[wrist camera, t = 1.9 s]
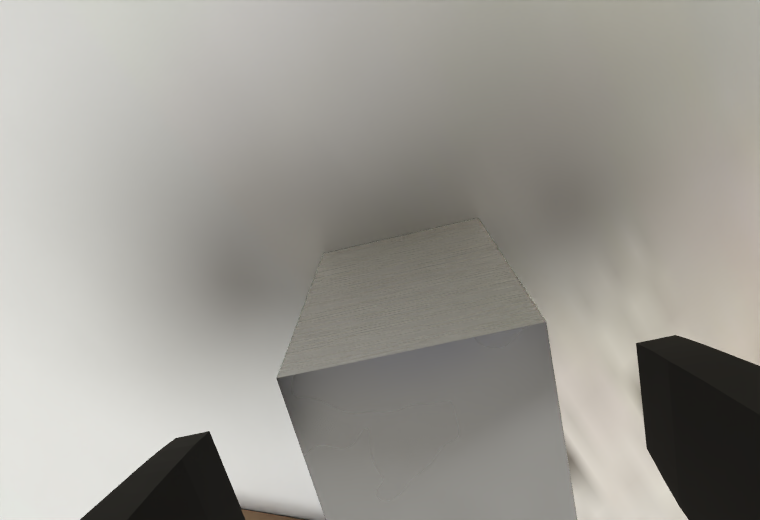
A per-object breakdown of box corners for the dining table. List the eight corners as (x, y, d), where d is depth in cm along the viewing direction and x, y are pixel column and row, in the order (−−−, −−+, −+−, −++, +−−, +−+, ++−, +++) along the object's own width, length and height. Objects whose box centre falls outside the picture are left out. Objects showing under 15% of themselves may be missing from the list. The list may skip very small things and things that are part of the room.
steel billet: (478, 217, 13) (546, 322, 8) (504, 357, 14) (580, 536, 9) (323, 253, 14) (276, 378, 8) (362, 386, 15) (345, 576, 9)
